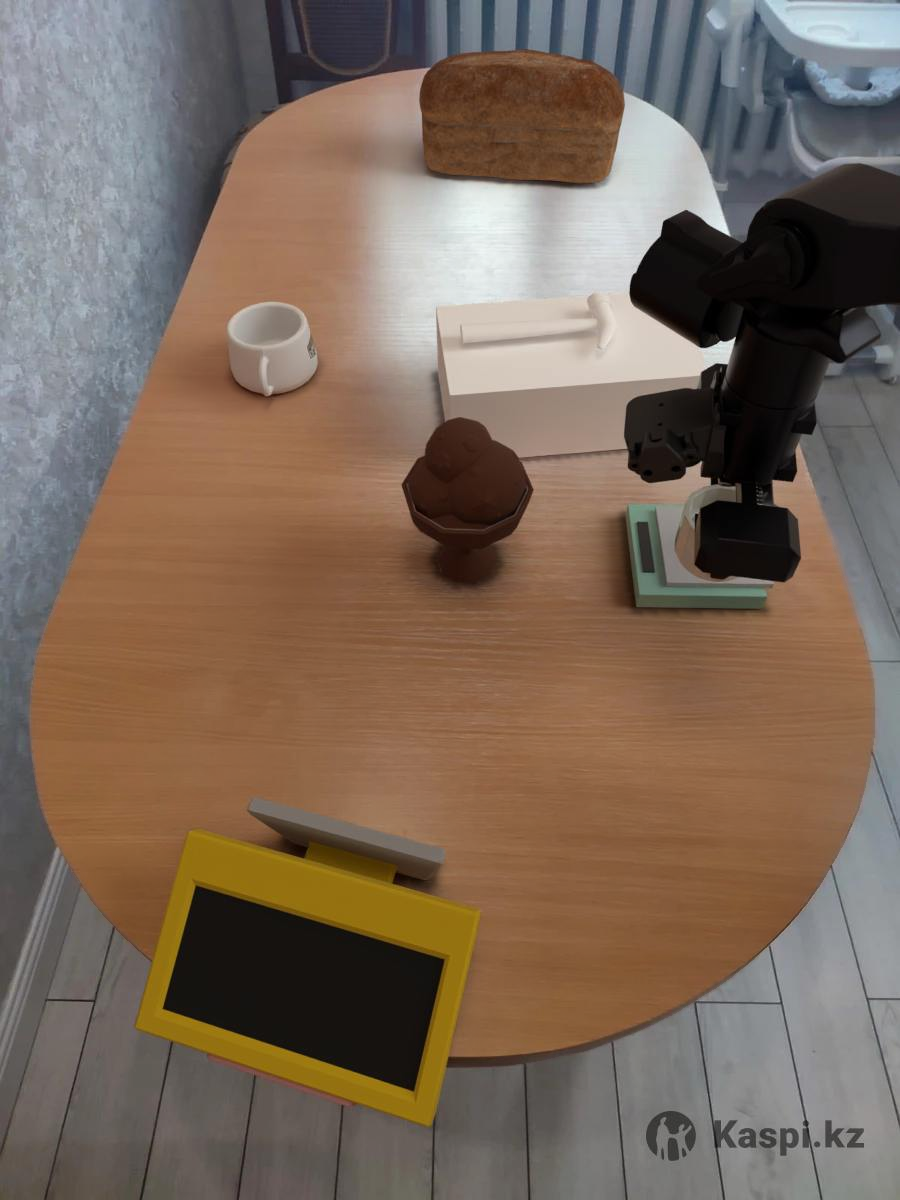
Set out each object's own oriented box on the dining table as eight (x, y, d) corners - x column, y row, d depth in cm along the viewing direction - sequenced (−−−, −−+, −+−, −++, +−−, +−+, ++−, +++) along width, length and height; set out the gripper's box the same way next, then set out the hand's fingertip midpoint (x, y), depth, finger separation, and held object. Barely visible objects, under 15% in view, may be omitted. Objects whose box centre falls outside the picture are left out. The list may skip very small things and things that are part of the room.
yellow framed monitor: (493, 860, 57) (422, 1138, 50) (495, 883, 63) (433, 1130, 57) (206, 782, 60) (103, 1031, 53) (239, 812, 67) (151, 1036, 60)
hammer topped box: (693, 443, 92) (716, 354, 83) (451, 463, 90) (449, 375, 82) (658, 357, 101) (676, 269, 92) (438, 374, 99) (435, 286, 91)
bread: (430, 141, 134) (426, 35, 123) (618, 153, 131) (632, 44, 119) (415, 181, 127) (409, 71, 115) (613, 194, 123) (628, 82, 112)
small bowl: (751, 530, 70) (766, 489, 67) (753, 589, 67) (770, 549, 63) (674, 521, 71) (685, 480, 67) (672, 579, 67) (684, 538, 64)
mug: (239, 344, 103) (228, 298, 99) (322, 343, 103) (315, 297, 99) (223, 412, 96) (211, 366, 91) (313, 410, 96) (305, 364, 91)
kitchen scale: (747, 518, 85) (753, 500, 83) (769, 609, 78) (776, 592, 76) (625, 516, 85) (628, 499, 84) (636, 607, 79) (640, 590, 77)
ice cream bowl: (390, 588, 81) (376, 465, 69) (437, 505, 87) (432, 379, 75) (500, 622, 78) (506, 500, 66) (541, 534, 84) (552, 409, 73)
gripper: (647, 284, 62) (617, 451, 75) (634, 468, 51) (602, 628, 63) (812, 299, 61) (754, 466, 73) (836, 490, 50) (762, 650, 62)
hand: (716, 545), depth 68 cm, fingers closed on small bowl, 6 cm apart
